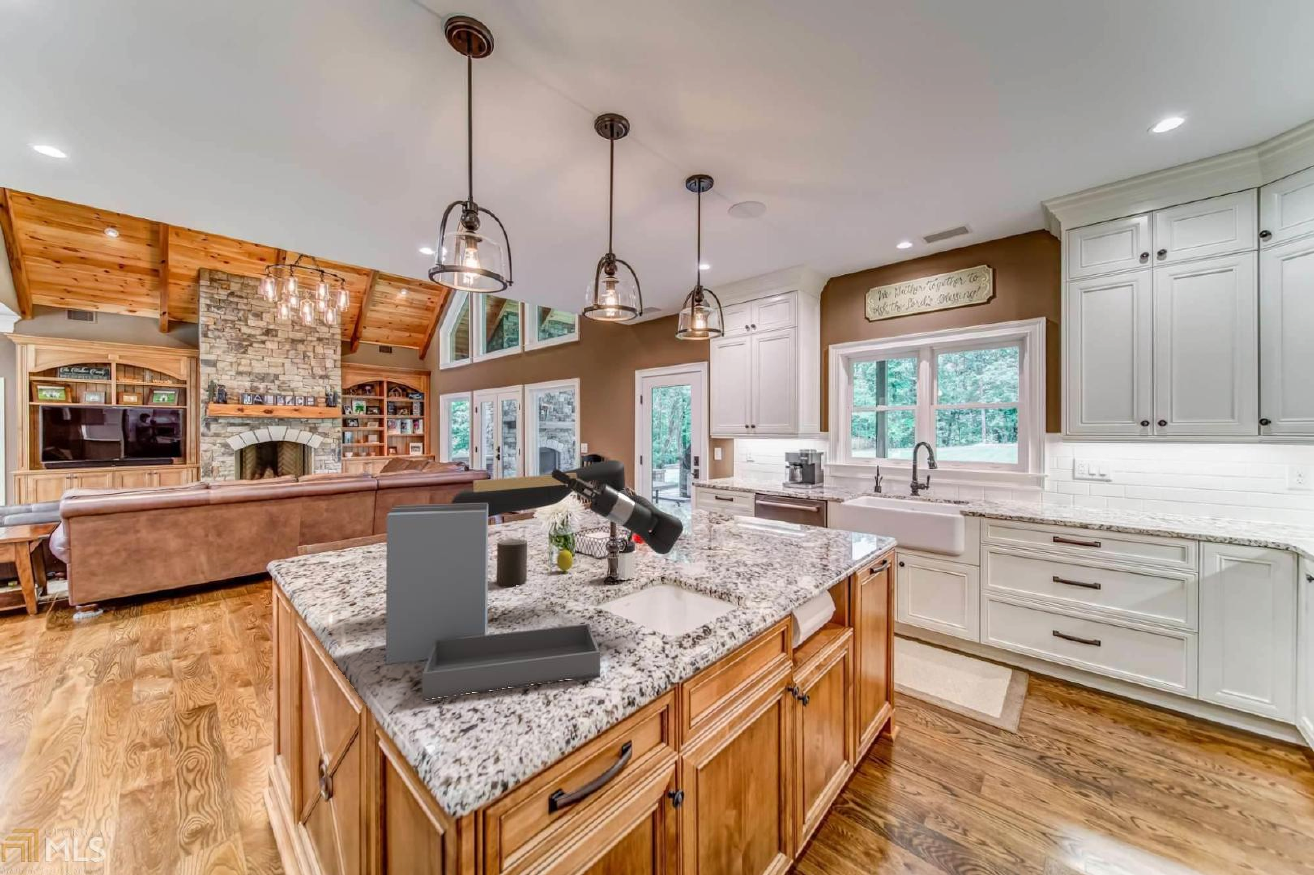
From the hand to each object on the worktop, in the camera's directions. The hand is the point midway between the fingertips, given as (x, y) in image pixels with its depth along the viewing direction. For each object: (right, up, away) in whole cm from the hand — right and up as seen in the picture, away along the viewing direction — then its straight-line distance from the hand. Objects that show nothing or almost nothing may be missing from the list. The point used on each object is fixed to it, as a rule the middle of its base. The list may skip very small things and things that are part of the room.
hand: (553, 472), depth 119 cm
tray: (-4, -40, -18) cm, 44 cm away
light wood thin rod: (-6, -3, -2) cm, 7 cm away
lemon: (-8, -40, +55) cm, 68 cm away
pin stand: (-25, -40, -7) cm, 48 cm away
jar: (+14, -40, +49) cm, 65 cm away
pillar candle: (-23, -40, +42) cm, 62 cm away
